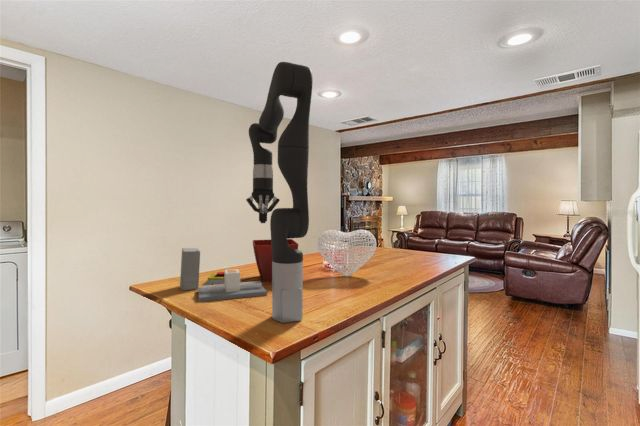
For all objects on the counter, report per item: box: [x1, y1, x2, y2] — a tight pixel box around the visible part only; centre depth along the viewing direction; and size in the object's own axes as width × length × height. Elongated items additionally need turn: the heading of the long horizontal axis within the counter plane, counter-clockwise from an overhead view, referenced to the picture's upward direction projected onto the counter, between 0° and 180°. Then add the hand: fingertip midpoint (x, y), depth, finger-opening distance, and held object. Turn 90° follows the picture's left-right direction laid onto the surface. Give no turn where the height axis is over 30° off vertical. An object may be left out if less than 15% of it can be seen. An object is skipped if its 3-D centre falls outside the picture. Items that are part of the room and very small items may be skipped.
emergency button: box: [203, 271, 243, 285], centre depth 142 cm, size 9×4×15 cm
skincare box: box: [179, 247, 201, 291], centre depth 132 cm, size 8×7×16 cm
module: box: [223, 268, 241, 292], centre depth 124 cm, size 7×5×7 cm
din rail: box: [200, 280, 263, 293], centre depth 124 cm, size 4×22×2 cm, turn 111°
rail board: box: [197, 285, 268, 303], centre depth 124 cm, size 14×24×2 cm, turn 111°
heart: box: [317, 229, 378, 277], centre depth 154 cm, size 28×16×22 cm, turn 98°
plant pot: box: [252, 238, 299, 283], centre depth 149 cm, size 19×19×17 cm
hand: (262, 223), depth 124 cm, fingers closed
